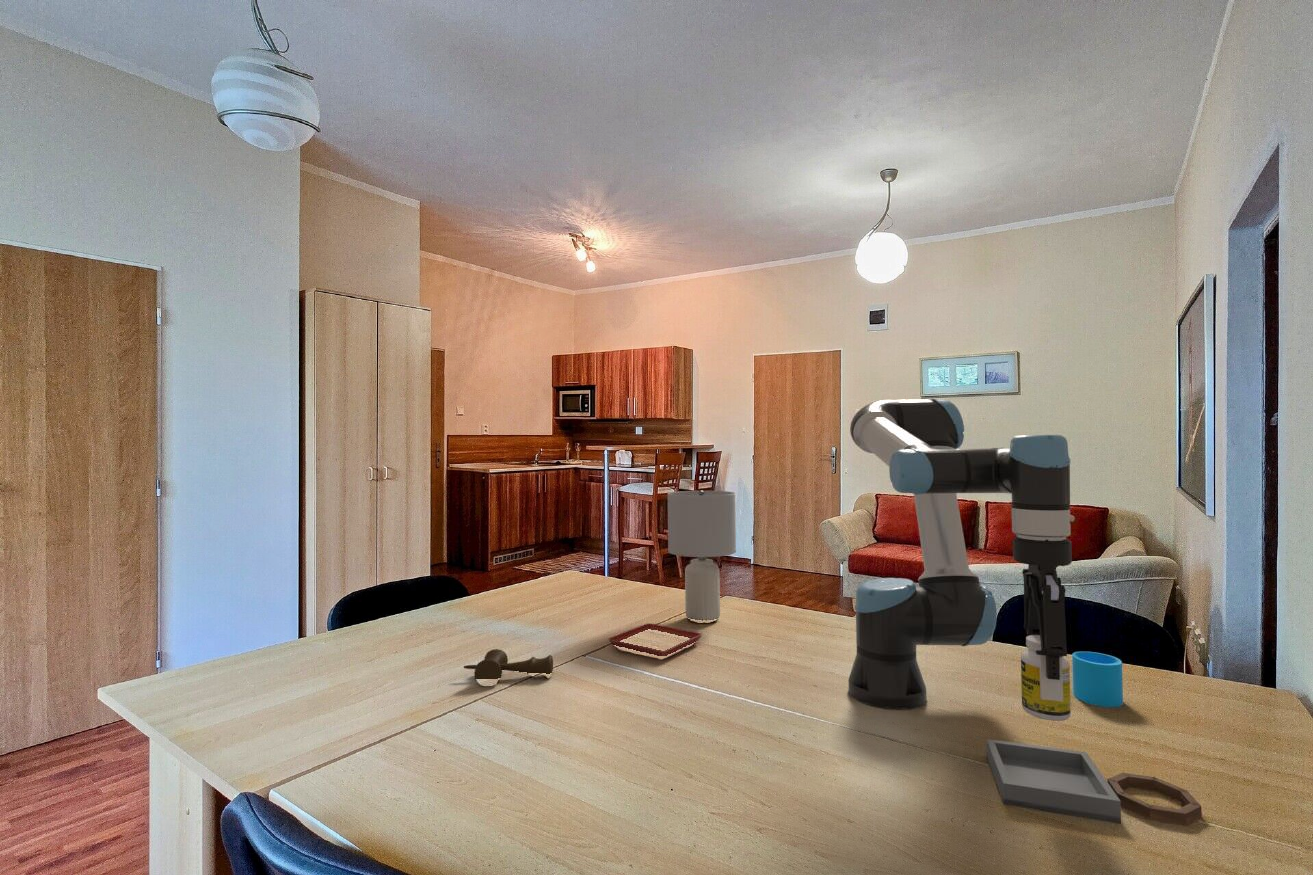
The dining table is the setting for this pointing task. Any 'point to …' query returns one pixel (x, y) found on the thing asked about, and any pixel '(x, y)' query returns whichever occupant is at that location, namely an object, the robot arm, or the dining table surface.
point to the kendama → (508, 665)
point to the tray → (1052, 780)
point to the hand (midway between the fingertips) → (1045, 690)
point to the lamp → (702, 544)
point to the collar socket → (1154, 812)
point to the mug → (1097, 679)
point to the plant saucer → (679, 632)
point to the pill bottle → (1032, 685)
